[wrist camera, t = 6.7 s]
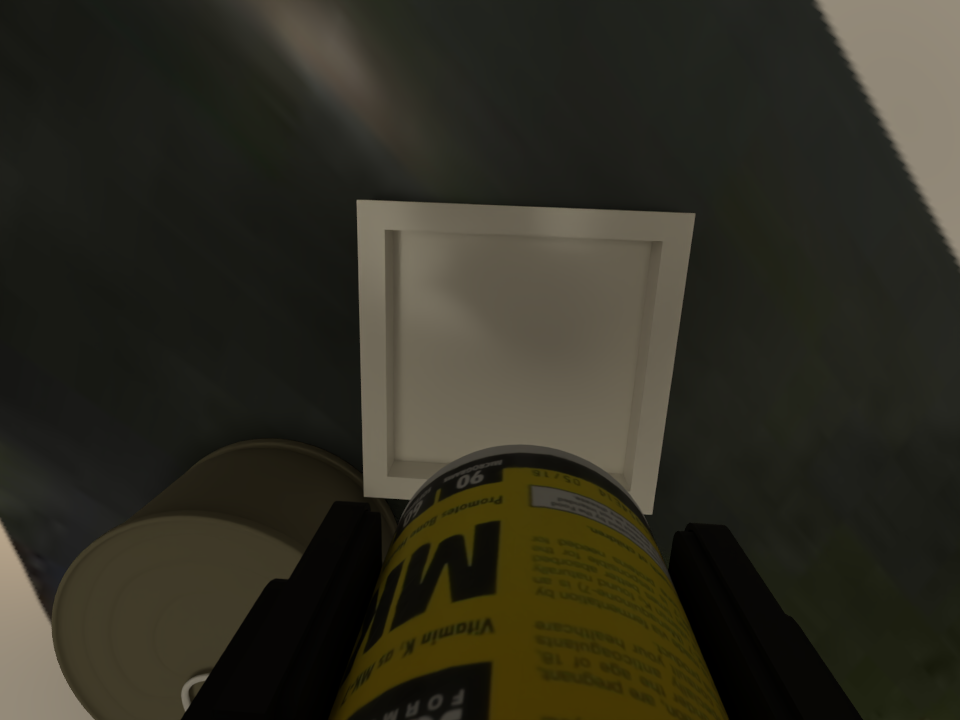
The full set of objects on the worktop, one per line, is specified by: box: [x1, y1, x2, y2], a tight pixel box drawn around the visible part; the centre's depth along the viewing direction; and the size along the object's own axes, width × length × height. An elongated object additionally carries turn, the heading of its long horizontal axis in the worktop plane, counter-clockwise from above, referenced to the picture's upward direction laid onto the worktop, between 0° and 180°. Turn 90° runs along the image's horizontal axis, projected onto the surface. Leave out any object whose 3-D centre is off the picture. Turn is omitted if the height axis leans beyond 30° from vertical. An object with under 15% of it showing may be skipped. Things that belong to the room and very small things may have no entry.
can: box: [52, 438, 398, 720], centre depth 23 cm, size 12×12×7 cm
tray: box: [357, 200, 695, 515], centre depth 22 cm, size 12×12×2 cm
